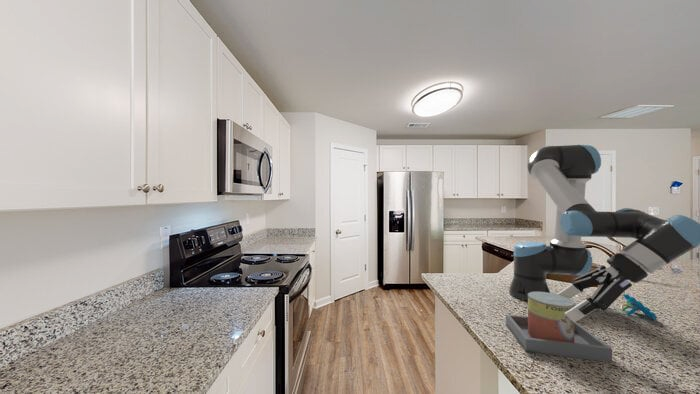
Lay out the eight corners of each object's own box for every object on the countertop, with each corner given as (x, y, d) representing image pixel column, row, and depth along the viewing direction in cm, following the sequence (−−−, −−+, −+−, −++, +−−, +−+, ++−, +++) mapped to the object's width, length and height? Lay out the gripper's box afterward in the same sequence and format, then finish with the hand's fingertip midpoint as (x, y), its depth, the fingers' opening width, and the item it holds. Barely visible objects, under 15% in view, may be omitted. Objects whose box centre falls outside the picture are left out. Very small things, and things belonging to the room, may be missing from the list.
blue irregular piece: (666, 320, 89) (636, 295, 93) (650, 330, 90) (621, 305, 94) (645, 311, 99) (619, 289, 103) (631, 321, 100) (606, 299, 104)
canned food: (557, 352, 72) (557, 308, 72) (518, 331, 82) (518, 293, 82) (584, 344, 75) (584, 302, 75) (544, 326, 86) (544, 289, 86)
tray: (505, 324, 89) (505, 314, 89) (575, 331, 84) (575, 321, 84) (525, 351, 73) (525, 339, 73) (612, 362, 68) (612, 348, 68)
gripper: (678, 289, 57) (589, 340, 64) (625, 263, 80) (563, 303, 87) (644, 262, 60) (561, 314, 67) (602, 244, 82) (543, 285, 89)
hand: (562, 308), depth 77 cm, fingers open, 13 cm apart
